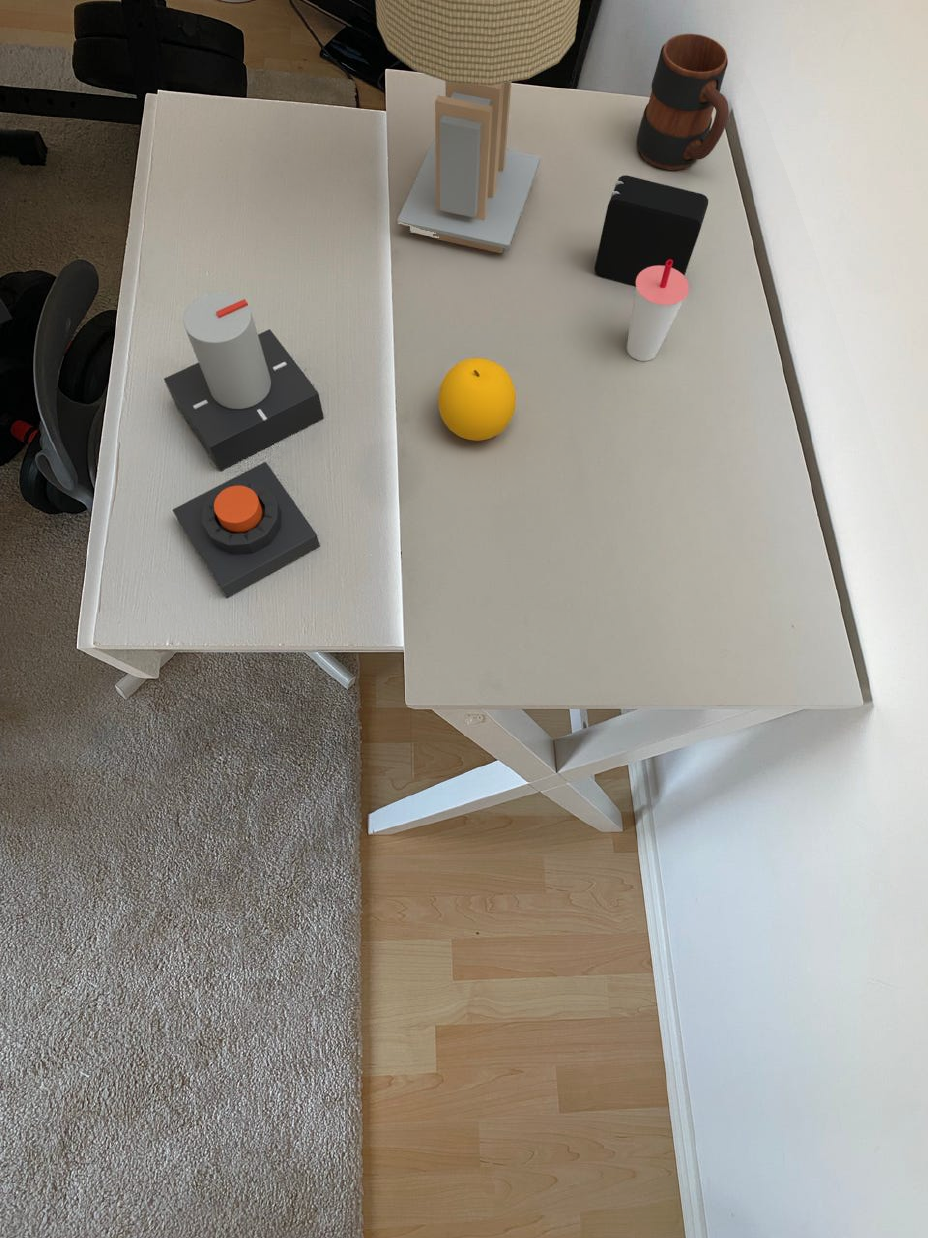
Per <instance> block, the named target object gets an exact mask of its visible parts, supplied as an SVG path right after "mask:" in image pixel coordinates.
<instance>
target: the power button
mask: <svg viewBox="0 0 928 1238" xmlns="http://www.w3.org/2000/svg"><path fill="white" fill-rule="evenodd" d="M214 510H215V513H216V515H217V517H218V519H219V521H220V523H221V525H222V526H223V527H224V528H225V529H227V530H229V531H231V532H236V533H241V532H246V531H249V530H251V529H253V528H254V527H255V526H256V525H257V524H258V523H259V522H260V520H261V518H262V507H261V504H260V502H259V499H258V497H257V495H256V493H255V492H254V491H253V490H252V489H250V488H248V487H245V486H231V487H228V488H226V489H224V490H223V491H221V492H220V493H219V494H218V496H217V497H216V499H215V502H214Z"/></svg>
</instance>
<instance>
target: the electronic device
mask: <svg viewBox="0 0 928 1238" xmlns="http://www.w3.org/2000/svg"><path fill="white" fill-rule="evenodd" d="M708 205H709V199H708V197H707V195H706V194H703V193H699V192H696V191H692V190H688V189H683V188H680V187H676V186H671V185H667V184H664V183H659V182H655V181H652V180H648V179H643V178H639V177H635V176H631V175H627V174H626V175H621V176H619V177H618V179H617V180H615V184H614V188H613V191H611V195H610V199H609V202H608V204H607V208H606V212H605V217H604V221H603V226H602V231H601V236H600V240H599V246H598V250H597V254H596V259H595V264H594V269H593V270H594V273H595V275H596V276H598V277H600V278H603V279H605V280H606V279H607V280H611V281H614V282H619V283H622V284H626V285H629V286H633V287H636V278H637V276H638V274H639V273H640V272H641V271H642V270H644V269H646V268H648V267H651V266H665V265H666V262H667V261H668V260H670V259H671V260H672V261H673V264H672V267H671V268H674V269H676V270H678V271H679V272H680V273H682V274H683V275H684V276H685V275H686V272H687V269H688V267H689V264H690V262H691V258H692V255H693V252H694V249H695V246H696V243H697V241H698V238H699V235H700V233H701V229H702V226H703V223H704V219H705V216H706V213H707V209H708V207H709V206H708Z"/></svg>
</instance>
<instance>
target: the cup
mask: <svg viewBox="0 0 928 1238" xmlns="http://www.w3.org/2000/svg"><path fill="white" fill-rule="evenodd" d="M672 264H673V261H672V260H671V259H670V260H668V261H667V262H666V265H665V266H651V267H648V268H646V269H644V270H642V271H641V272H640V273H639V274H638V276H637V278H636V286H635V292H634V298H633V302H632V303H633V304H632V309H631V317H630V323H629V328H628V336H627V342H626V343H627V344H626V351H627V353H628V355H629V356H630V357H631V358H633V360H634V359H635V360H637V361H640V362H646V361H647V362H648V361H651V360H653V359H654V358H655V357H656V356H657V354H658V352H659V350H660V349H661V347H662V345H663V343H664V341H665V339H666V337H667V335H668V333H669V331H670V329H671V327H672V325H673V323H674V321H675V318H676V316H677V315H678V313H679V311H680V309H681V306H682V304H683V302H684V300H685V299H686V298H687V296H688V295H689V293H690V284H689V283H690V282H689V280H688V278H687V277H686V276H685V275H683V274H682V273H680V272H679V271H678V270H676V269H674V268H671V267H672Z"/></svg>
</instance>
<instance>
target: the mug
mask: <svg viewBox="0 0 928 1238" xmlns="http://www.w3.org/2000/svg"><path fill="white" fill-rule="evenodd" d="M728 63H729V59H728V54H727V51H726V49H725V48H724V47H723V46H722V45H721V43H720V42H718V41H716V40H715V39H713V38H712V37H708V36H706V35H703V34H697V33H682V34H681V33H680V34H677V35H675V36H672V37H670V38H669V39H667V41H666V42H665V43H664V44H663V45H662V47H661V49H660V52H659V57H658V61H657V64H656V68H655V70H654V75H653V77H652V81H651V91H650V96H649V100H648V103H647V104H646V105H645V108H644V111H643V114H642V117H641V120H640V124H639V128H638V131H637V136H636V145H637V148H638V150H639V153H640V155H641V156H642V158H643V159H644V160H645V161H646V162H647V163H649V164H650V165H652V166H654V167H657V168H658V169H662V170H667V171H668V170H669V171H677V170H678V171H679V170H683V169H686V168H689V167H690V166H692V165H693V164H695V163H696V161H698V160H703V159H705V158H706V157H708V156H709V155H710V154H711V153H712V152H713V150H714V149H715V147H716V146H717V144H718V143H719V141H720V139H721V138H722V135H723V133H724V131H725V129H726V126H727V123H728V119H729V112H730V111H729V109H730V108H729V103H728V99H727V98H726V97H725V96H724V94H723V93H721V89H722V84H723V81H724V78H725V75H726V70H727V67H728ZM714 109H715V116H714V120H713V112H714ZM712 121H713V122H712Z"/></svg>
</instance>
